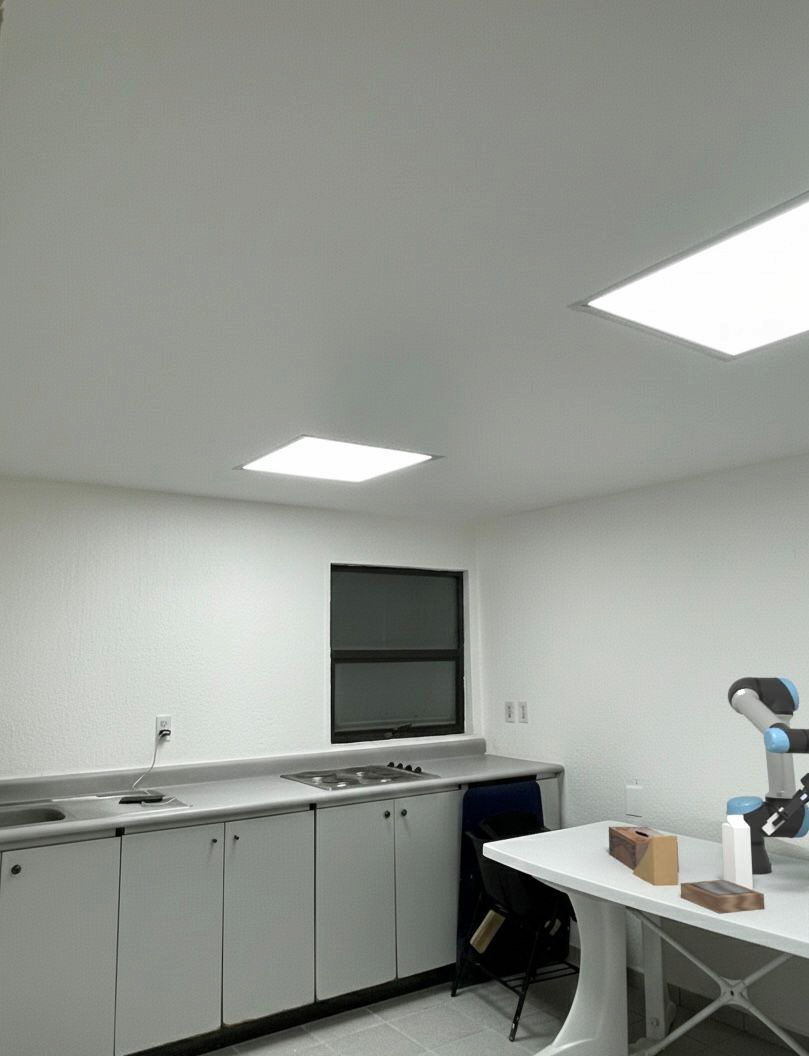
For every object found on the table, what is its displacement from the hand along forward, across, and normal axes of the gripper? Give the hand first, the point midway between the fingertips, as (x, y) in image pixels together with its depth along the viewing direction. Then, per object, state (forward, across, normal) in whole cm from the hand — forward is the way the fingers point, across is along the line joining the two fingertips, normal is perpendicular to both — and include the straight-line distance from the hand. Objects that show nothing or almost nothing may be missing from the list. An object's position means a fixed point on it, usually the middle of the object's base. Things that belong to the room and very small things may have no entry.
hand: (767, 828), depth 247 cm
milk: (+20, +1, -7) cm, 22 cm away
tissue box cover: (+44, +17, +16) cm, 50 cm away
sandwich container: (+38, -2, +10) cm, 39 cm away
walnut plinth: (+22, -19, -5) cm, 29 cm away
